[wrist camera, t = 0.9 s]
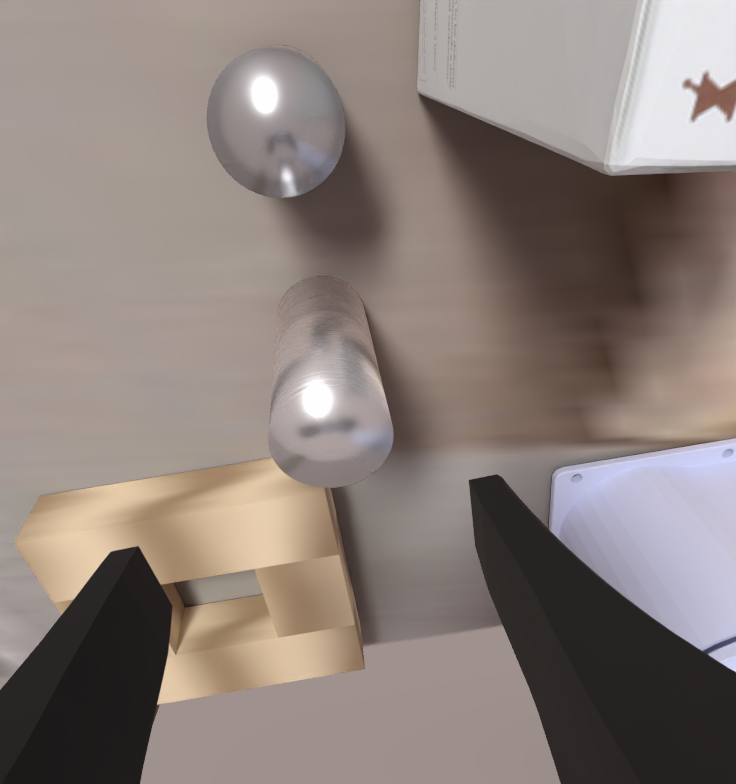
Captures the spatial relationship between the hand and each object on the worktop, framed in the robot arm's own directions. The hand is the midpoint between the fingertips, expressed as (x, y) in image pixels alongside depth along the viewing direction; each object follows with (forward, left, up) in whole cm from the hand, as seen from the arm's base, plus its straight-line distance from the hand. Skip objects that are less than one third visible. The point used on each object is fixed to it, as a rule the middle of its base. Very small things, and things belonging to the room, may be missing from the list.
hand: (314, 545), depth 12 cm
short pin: (-1, -8, -10) cm, 13 cm away
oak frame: (+6, +11, -10) cm, 17 cm away
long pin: (-1, -1, -10) cm, 10 cm away
